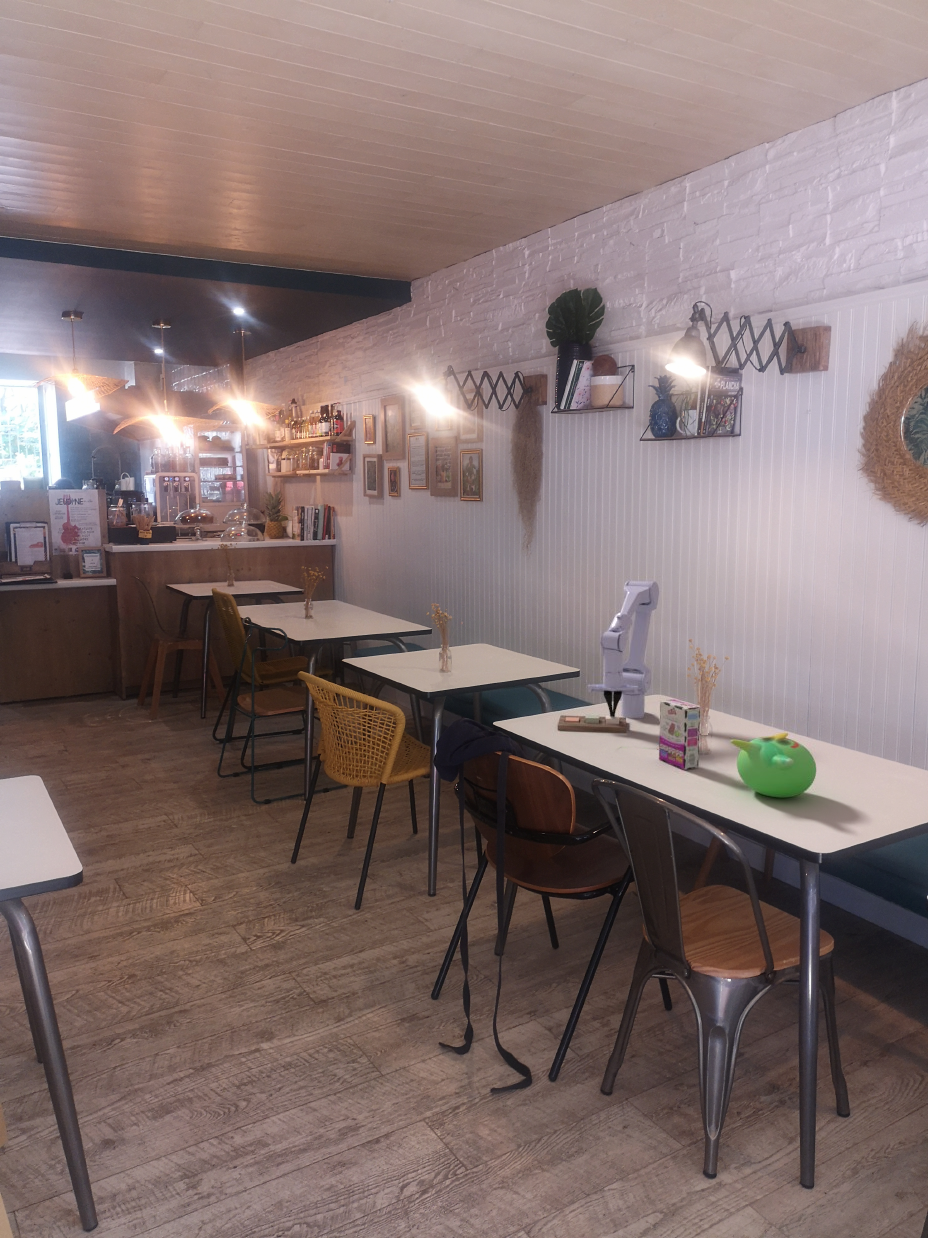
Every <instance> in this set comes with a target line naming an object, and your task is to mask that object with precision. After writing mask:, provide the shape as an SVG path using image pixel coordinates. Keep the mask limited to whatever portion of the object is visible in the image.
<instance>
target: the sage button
mask: <svg viewBox="0 0 928 1238" xmlns="http://www.w3.org/2000/svg"><path fill="white" fill-rule="evenodd" d="M585 716H586V717H585V723H599V717H600V714H585Z"/></svg>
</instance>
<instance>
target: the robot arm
mask: <svg viewBox="0 0 928 1238" xmlns="http://www.w3.org/2000/svg"><path fill="white" fill-rule="evenodd" d="M623 596H624V600H623V603H622V605H621V610H620V612H619V613H616V614H615V615H614V618H613V619H612V621H611V623H610V626H609V627H608V629H607V630H606V631H605V632H603V633H602V634H601V636H600V641H599V645H600V648H601V655H602V657H603V665H602V666H603V667H602V669H603V678H602V683H601V684H600V683H599V684H597V683H596V684H595V683H594V684H588V685H587V687H588V688H587V690H588V691H587V692H588V693H592V692H593V693H594V692H595V693H603V697H604V699H605V701H606V704H607V707H608V710H609V711H608V712H609V715H610V717H615V716H616V711H617V708H618V705H619V702H620V701H621V703H620V715H621V716H620V717H626V719H642V718H644V717H645V706H646V703H645V698H646V697H645V694H647V692H648V691H649V690H650V689H651V684H652V683H651V681H652V678H651V675H652V671H651V669H650V667H649V666H647V664H646V663H644V661H645V654H646V648H647V642H648V635H649V628H650V624H651V617H652V612H653V611H655V610H656V609H657V607H658V602H659V597H660V587H659V584H658V583H657V581H653V580H652V581H646V580H645V581H643V580H641V581H640V580H631V579H630V580H629V579H628V580H627V581H626V582H625V583H624V585H623ZM633 616H634V620H633V619H632V617H633ZM632 625H633V626H632ZM631 627H632V633H631V638H630V645H629V651H628V657H627V660H626V661H625V662H624V651H625V650H626V648H627V642H628V639H629V638H628V637H629V636H628V634H629V631H630V630H631Z"/></svg>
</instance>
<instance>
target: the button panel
mask: <svg viewBox="0 0 928 1238" xmlns="http://www.w3.org/2000/svg"><path fill="white" fill-rule="evenodd" d="M566 717H575V718H579V723H572V722H565V720H566ZM585 717H586V715H564V714H563V715H562V714H560V717H559V720H558V722H557V731H566V732H567V731H569V732H570V731H571V732H592V733H593V732H597V733H620V734H621V733H624V734H625V733H627V718H626V717H623V716H619V724H606V716H599V723H585Z"/></svg>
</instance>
